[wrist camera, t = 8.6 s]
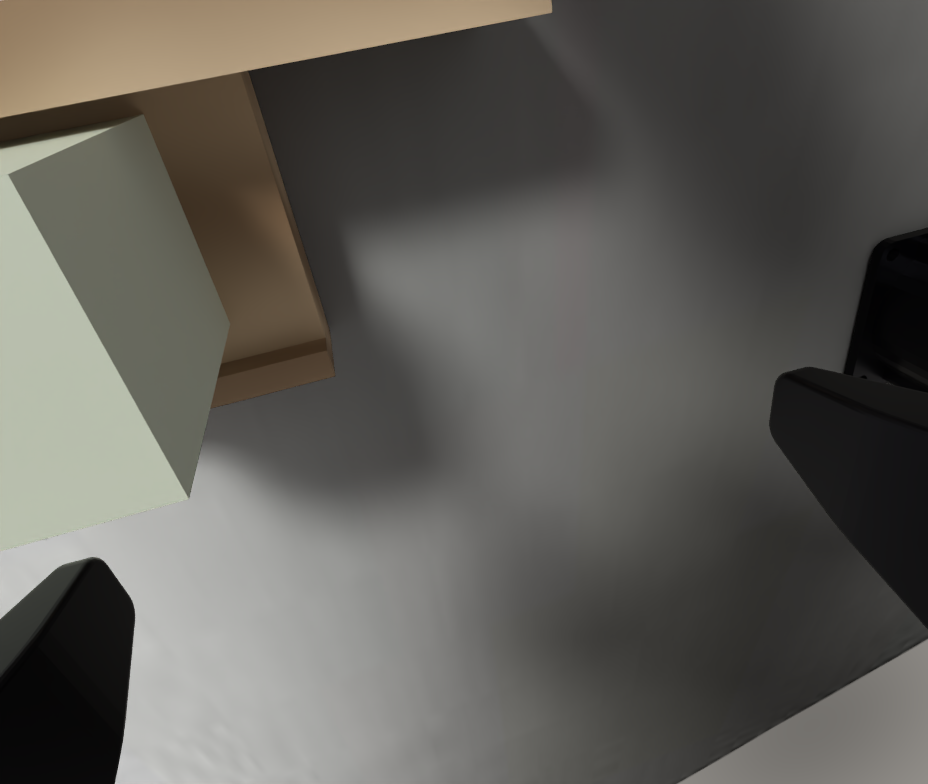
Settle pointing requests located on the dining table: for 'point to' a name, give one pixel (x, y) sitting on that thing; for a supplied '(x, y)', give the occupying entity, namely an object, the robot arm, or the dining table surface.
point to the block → (98, 332)
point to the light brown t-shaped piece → (214, 133)
